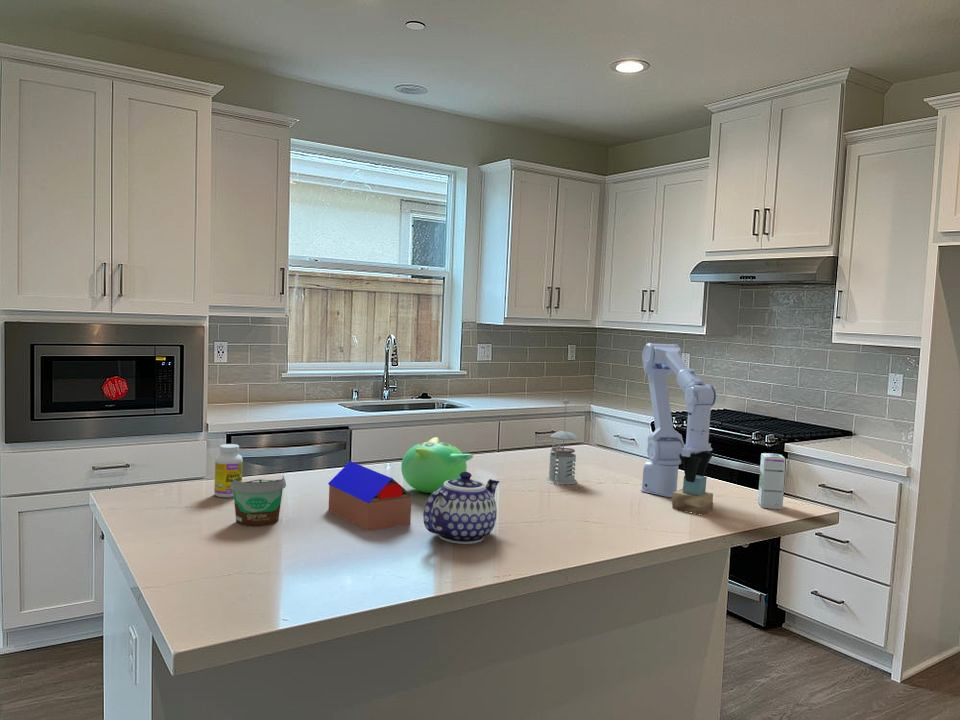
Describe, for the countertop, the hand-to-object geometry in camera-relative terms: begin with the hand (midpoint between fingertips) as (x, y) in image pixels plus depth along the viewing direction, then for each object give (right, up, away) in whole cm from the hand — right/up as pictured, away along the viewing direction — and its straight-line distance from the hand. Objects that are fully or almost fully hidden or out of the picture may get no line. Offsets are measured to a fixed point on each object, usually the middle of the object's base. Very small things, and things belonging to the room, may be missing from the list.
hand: (694, 479), depth 195 cm
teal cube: (0, -4, 0) cm, 4 cm away
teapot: (-62, -7, -33) cm, 70 cm away
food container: (-107, -5, -31) cm, 112 cm away
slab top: (0, -6, 0) cm, 6 cm away
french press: (-33, -5, +25) cm, 42 cm away
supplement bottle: (-122, -3, -8) cm, 123 cm away
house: (-84, -6, -21) cm, 87 cm away
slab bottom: (0, -9, 0) cm, 9 cm away
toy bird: (-70, -4, +5) cm, 71 cm away
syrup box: (+23, -9, +7) cm, 26 cm away
